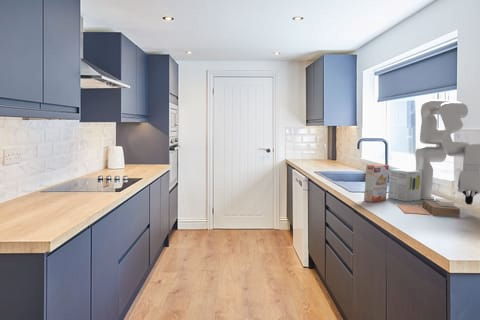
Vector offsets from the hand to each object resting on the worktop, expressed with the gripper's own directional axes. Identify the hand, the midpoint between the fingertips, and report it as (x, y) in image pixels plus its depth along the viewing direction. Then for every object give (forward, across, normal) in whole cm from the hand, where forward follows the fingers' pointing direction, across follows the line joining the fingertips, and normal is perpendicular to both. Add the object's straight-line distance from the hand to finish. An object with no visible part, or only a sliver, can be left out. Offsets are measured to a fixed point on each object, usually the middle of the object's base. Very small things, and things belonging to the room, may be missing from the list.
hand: (468, 204), depth 196 cm
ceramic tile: (+1, +11, 0) cm, 11 cm away
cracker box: (+5, +42, -20) cm, 47 cm away
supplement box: (+5, +24, -33) cm, 41 cm away
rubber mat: (+5, +26, 0) cm, 27 cm away
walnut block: (+5, +13, 0) cm, 14 cm away
